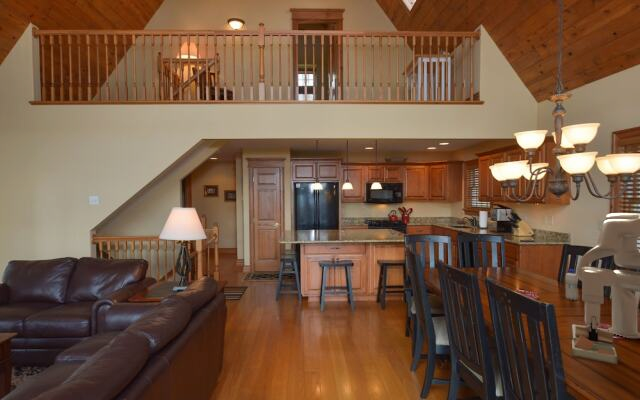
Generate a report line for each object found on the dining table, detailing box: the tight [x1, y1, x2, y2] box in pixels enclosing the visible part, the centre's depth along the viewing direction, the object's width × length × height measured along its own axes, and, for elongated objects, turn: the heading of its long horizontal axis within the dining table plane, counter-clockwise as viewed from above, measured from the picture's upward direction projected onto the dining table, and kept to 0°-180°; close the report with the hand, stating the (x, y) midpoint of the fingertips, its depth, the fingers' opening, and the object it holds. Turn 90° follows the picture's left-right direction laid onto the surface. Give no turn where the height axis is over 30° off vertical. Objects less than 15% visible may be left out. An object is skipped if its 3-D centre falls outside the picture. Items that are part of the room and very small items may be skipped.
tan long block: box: [575, 324, 614, 346], centre depth 156 cm, size 3×13×5 cm, turn 56°
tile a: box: [598, 349, 614, 356], centre depth 150 cm, size 5×5×2 cm
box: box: [571, 339, 619, 365], centre depth 154 cm, size 11×15×3 cm
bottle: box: [564, 268, 579, 301], centre depth 232 cm, size 7×7×20 cm
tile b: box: [574, 335, 594, 351], centre depth 156 cm, size 5×5×2 cm
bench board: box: [571, 324, 614, 347], centre depth 167 cm, size 20×14×4 cm
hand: (592, 339), depth 157 cm, fingers open, 2 cm apart
